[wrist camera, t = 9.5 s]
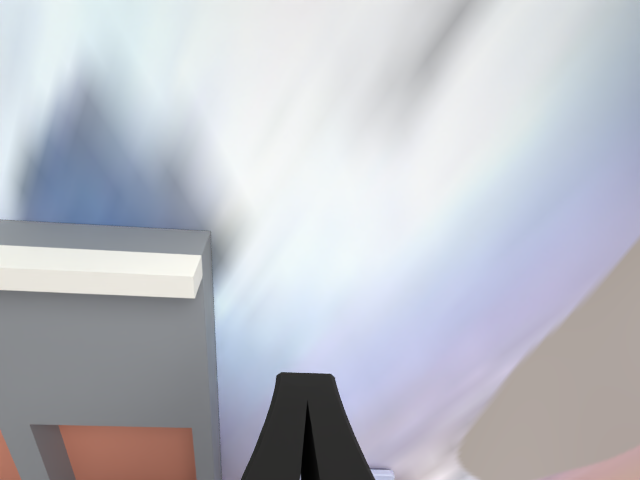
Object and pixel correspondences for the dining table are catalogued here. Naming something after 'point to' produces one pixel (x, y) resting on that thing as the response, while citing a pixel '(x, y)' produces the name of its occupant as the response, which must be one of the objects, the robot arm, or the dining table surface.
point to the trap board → (107, 353)
